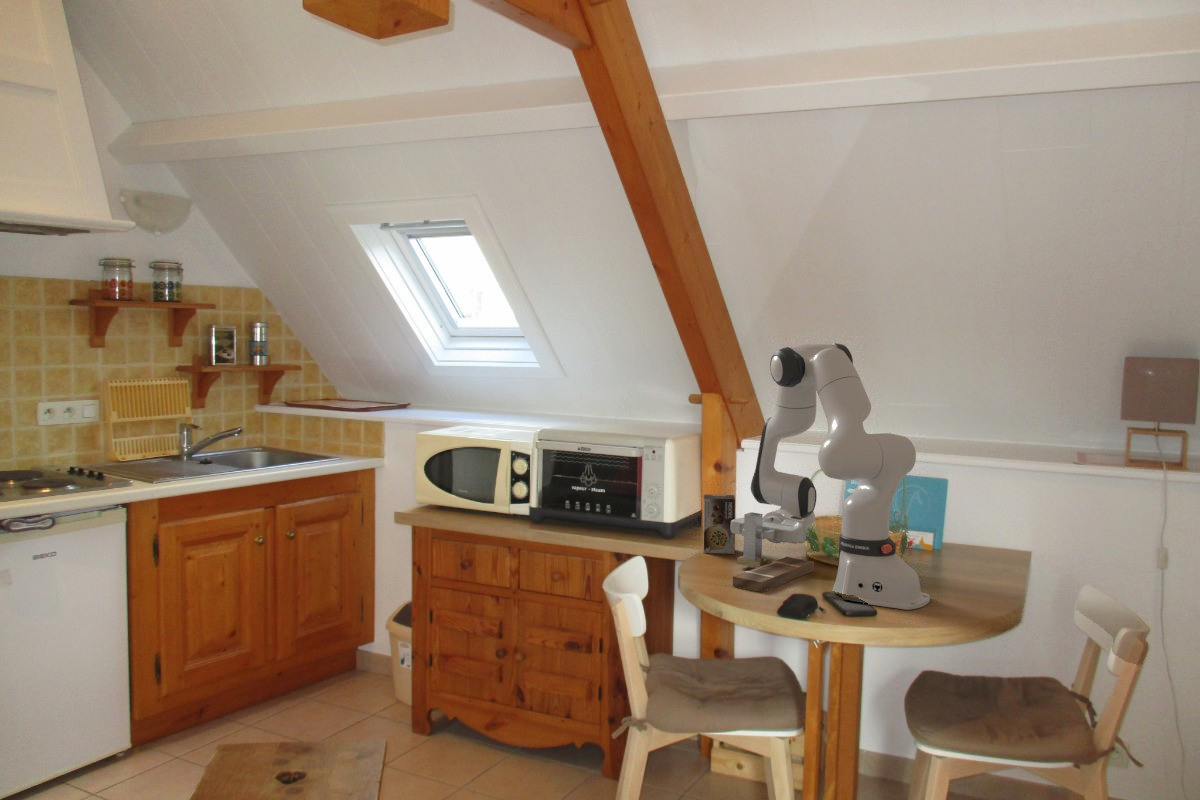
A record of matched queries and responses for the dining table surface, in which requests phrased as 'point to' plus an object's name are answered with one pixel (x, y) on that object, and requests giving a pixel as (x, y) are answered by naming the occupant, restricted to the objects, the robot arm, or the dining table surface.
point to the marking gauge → (752, 541)
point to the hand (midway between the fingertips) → (752, 534)
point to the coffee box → (718, 524)
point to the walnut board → (773, 574)
